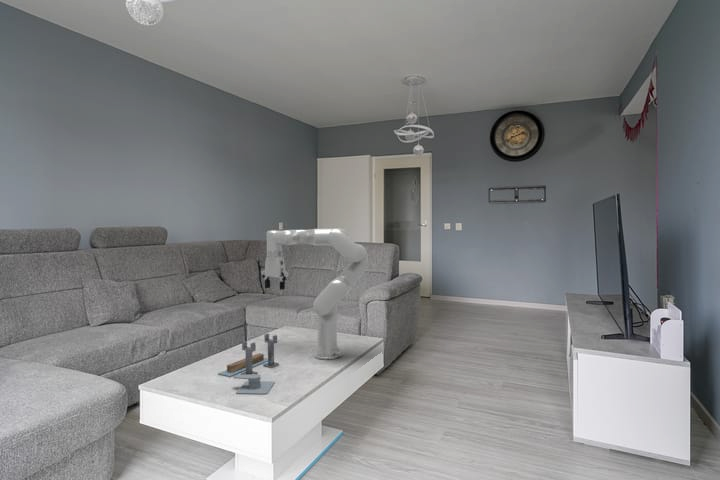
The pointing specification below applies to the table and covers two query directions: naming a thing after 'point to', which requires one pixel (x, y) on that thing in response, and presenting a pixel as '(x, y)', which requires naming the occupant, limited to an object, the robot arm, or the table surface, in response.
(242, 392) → the shower valve
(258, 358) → the rail
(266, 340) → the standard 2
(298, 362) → the table surface
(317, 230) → the robot arm
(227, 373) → the mat
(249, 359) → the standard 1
